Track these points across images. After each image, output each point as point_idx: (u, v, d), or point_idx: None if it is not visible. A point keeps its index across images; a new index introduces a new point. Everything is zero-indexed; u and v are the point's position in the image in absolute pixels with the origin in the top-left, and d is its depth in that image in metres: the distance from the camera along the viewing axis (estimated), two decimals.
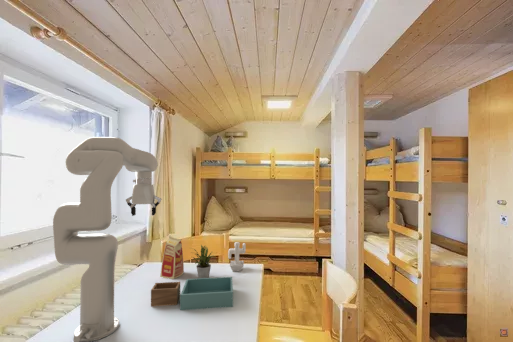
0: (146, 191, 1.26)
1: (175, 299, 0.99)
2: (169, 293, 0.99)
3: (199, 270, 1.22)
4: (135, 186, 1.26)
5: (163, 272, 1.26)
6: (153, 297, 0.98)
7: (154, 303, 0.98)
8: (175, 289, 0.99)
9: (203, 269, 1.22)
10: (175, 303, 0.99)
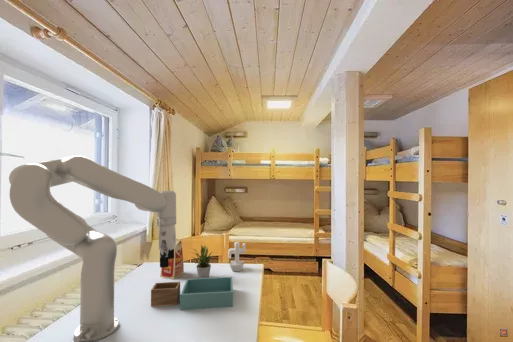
0: (174, 231, 1.05)
1: (175, 299, 0.99)
2: (169, 293, 0.99)
3: (199, 270, 1.22)
4: (171, 227, 1.00)
5: (163, 272, 1.26)
6: (153, 297, 0.98)
7: (154, 303, 0.98)
8: (175, 289, 0.99)
9: (203, 269, 1.22)
10: (175, 303, 0.99)
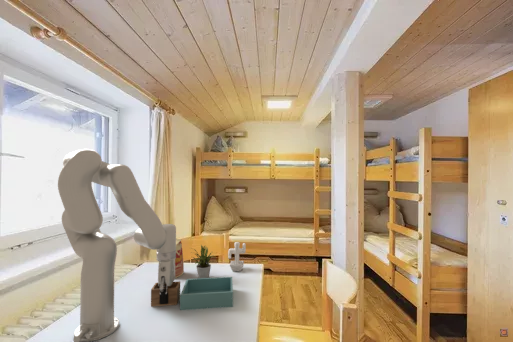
0: (174, 264, 1.05)
1: (175, 299, 0.99)
2: (169, 292, 0.99)
3: (199, 270, 1.22)
4: (170, 262, 0.99)
5: None
6: (153, 297, 0.98)
7: (154, 302, 0.98)
8: (175, 289, 0.99)
9: (203, 269, 1.22)
10: (175, 303, 0.99)
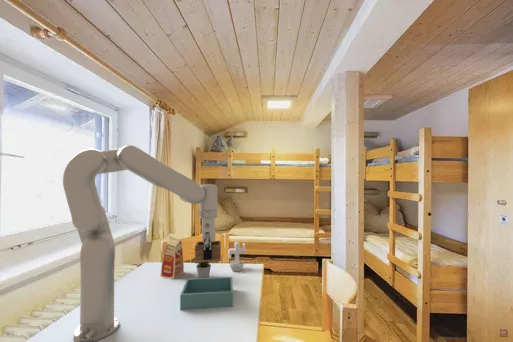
0: None
1: (218, 255, 1.01)
2: (212, 249, 1.01)
3: (199, 270, 1.22)
4: (213, 220, 1.02)
5: (163, 272, 1.26)
6: (197, 253, 1.00)
7: (198, 258, 1.00)
8: (218, 245, 1.01)
9: (203, 269, 1.22)
10: (218, 259, 1.01)
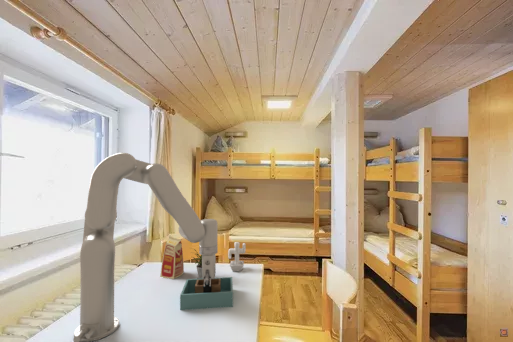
0: None
1: None
2: (212, 289, 1.01)
3: (199, 270, 1.22)
4: (214, 256, 1.01)
5: (163, 272, 1.26)
6: None
7: None
8: (218, 285, 1.01)
9: None
10: None
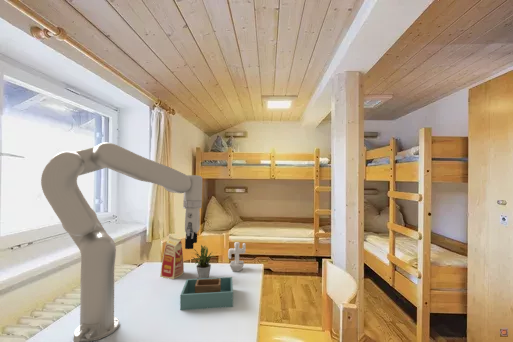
0: (199, 215, 1.07)
1: None
2: (212, 289, 1.01)
3: (199, 270, 1.22)
4: (197, 210, 1.02)
5: (163, 272, 1.26)
6: None
7: None
8: (218, 285, 1.01)
9: (203, 269, 1.22)
10: None
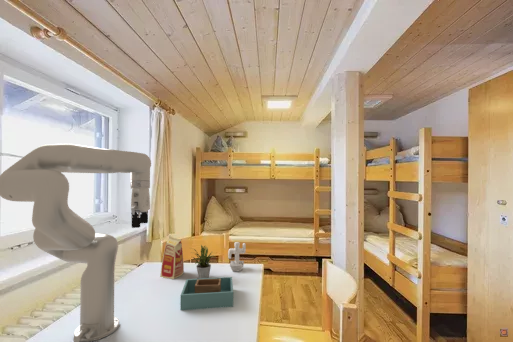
0: (148, 195, 1.09)
1: None
2: (212, 289, 1.01)
3: (199, 270, 1.22)
4: (143, 190, 1.03)
5: (163, 272, 1.26)
6: None
7: None
8: (218, 285, 1.01)
9: (203, 269, 1.22)
10: None
